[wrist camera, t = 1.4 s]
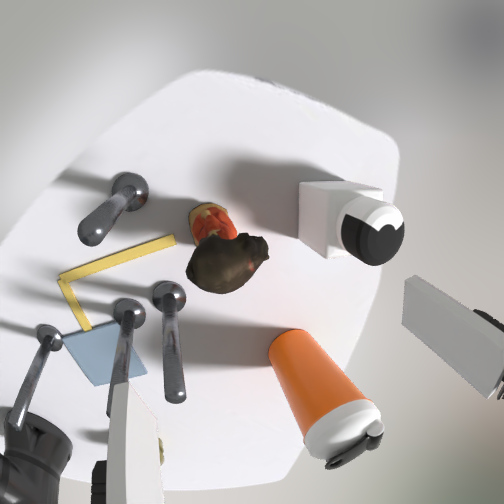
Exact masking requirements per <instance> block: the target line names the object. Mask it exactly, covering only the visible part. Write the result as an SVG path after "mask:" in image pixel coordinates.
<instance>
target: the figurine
mask: <svg viewBox="0 0 504 504" xmlns="http://www.w3.org/2000/svg"><path fill="white" fill-rule="evenodd" d="M189 225H190V228H191V233H192V235H193V238H194V242H195V244H196V246H197V248H196V249H195V250H194V252H193V255H192V257H191V259H190V261H189V263H188V266H187V269H186V275H187V278H188V279H189V280H190V281H191V282H192V283H194V284H195V285H196V286H198V287H199V288H200V289H202V290H204V291H207V292H211V293H216V294H226V293H229V292H233V291H235V290H237V289H238V288H240V287H242V286H243V285H244V284H245V283H246V282H247V281H248V280H249V279H250V278H251V277H252V276H253V274H254V273H255V272H256V270H257V269H258V267H259V266H260V265H261V264H262V263H263V261H265V260H267V259H269V255H268V245H267V242H266V241H265V240H264V239H263V237H262V236H261V237H257V236H249V234H248V233H239V235H238V236H237V230H236V228H235V227H234V225H233V223H232V221H231V220H230V218H229V217H228V212H227V210H226V209H225V208H223V207H221V206H219V205H217V204H213V203H210V204H201V205H199V206H198V207H196V208H194V209H193V210H192V211H191V212H190V213H189Z"/></svg>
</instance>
